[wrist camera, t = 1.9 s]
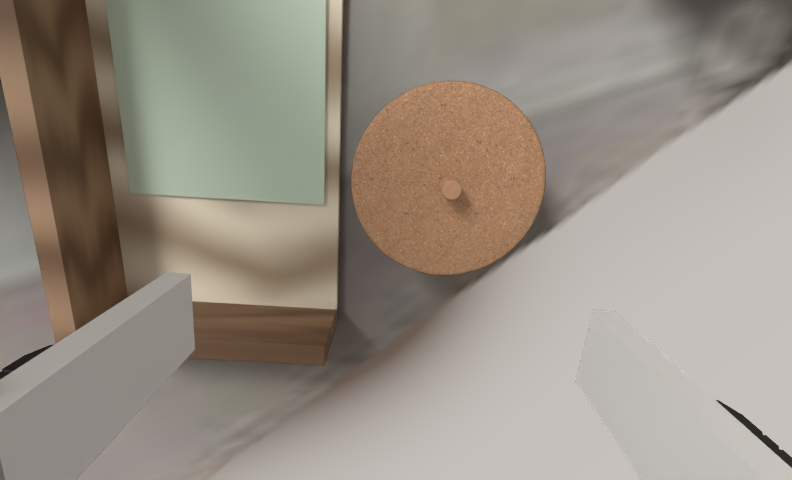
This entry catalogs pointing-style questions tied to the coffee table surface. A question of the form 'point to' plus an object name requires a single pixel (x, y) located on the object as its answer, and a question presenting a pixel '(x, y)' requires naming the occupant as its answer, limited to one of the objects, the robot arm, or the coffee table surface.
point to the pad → (222, 97)
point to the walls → (106, 195)
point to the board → (228, 211)
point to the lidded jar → (448, 177)
